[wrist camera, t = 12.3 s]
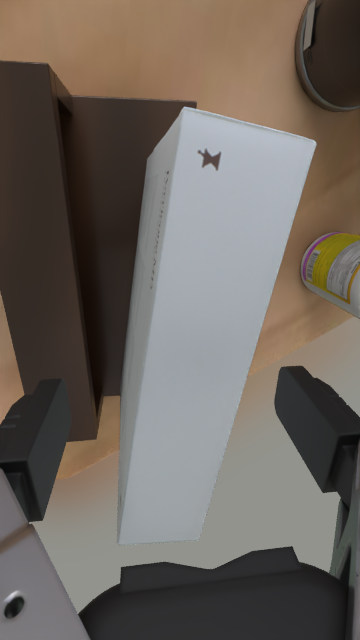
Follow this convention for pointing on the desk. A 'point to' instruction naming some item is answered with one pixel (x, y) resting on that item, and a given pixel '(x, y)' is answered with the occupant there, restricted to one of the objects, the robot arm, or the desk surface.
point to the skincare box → (198, 310)
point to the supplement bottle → (334, 270)
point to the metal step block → (71, 229)
